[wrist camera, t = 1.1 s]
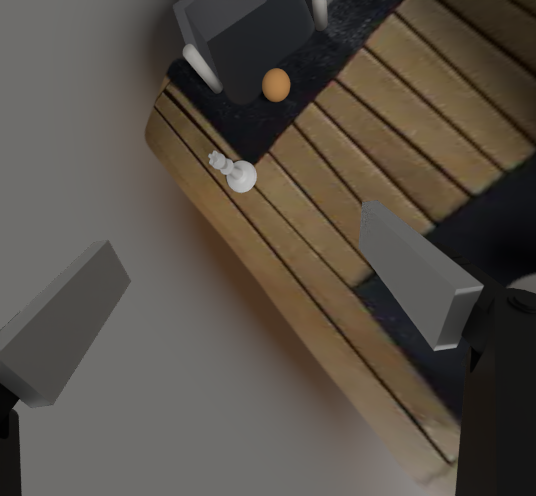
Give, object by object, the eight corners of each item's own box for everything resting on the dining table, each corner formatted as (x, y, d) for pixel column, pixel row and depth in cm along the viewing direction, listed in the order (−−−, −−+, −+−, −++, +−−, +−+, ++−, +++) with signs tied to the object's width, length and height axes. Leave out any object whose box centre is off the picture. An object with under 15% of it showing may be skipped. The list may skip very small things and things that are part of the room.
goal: (329, 26, 35) (326, -35, 27) (214, 95, 40) (185, 60, 32) (304, -37, 36) (294, -113, 28) (195, 39, 41) (161, -8, 33)
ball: (282, 74, 37) (275, 54, 33) (297, 93, 36) (292, 76, 32) (261, 93, 38) (252, 76, 34) (276, 113, 37) (268, 98, 33)
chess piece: (261, 167, 38) (234, 141, 28) (249, 197, 39) (219, 182, 29) (234, 157, 39) (200, 129, 30) (223, 186, 40) (186, 168, 30)
